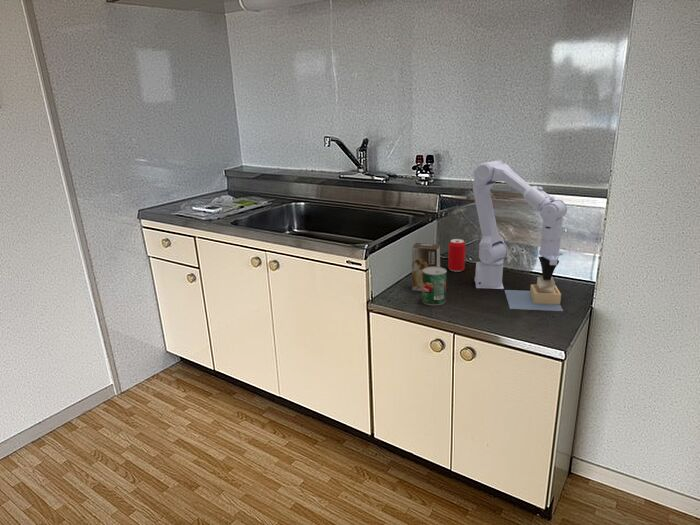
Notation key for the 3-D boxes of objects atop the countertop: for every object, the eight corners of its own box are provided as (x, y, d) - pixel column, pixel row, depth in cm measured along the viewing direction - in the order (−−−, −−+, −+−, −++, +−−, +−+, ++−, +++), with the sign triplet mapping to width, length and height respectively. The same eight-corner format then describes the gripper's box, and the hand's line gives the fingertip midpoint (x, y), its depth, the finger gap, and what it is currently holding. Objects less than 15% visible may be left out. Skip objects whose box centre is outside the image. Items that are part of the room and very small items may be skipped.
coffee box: (440, 286, 176) (441, 244, 171) (436, 293, 171) (437, 249, 165) (415, 284, 180) (416, 242, 174) (411, 290, 174) (411, 247, 169)
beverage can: (463, 267, 195) (464, 238, 191) (465, 272, 189) (466, 242, 185) (447, 267, 196) (448, 238, 192) (448, 272, 190) (449, 243, 186)
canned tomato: (417, 301, 164) (417, 270, 161) (431, 294, 170) (431, 264, 166) (436, 307, 159) (437, 276, 155) (450, 300, 164) (451, 269, 161)
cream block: (538, 294, 159) (540, 281, 157) (536, 289, 163) (537, 276, 161) (553, 295, 158) (554, 282, 156) (550, 289, 162) (552, 277, 161)
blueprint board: (509, 310, 155) (510, 298, 154) (504, 291, 170) (505, 280, 169) (563, 312, 152) (564, 300, 151) (552, 293, 167) (554, 282, 166)
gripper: (569, 245, 147) (564, 287, 151) (559, 233, 161) (555, 271, 165) (544, 245, 148) (540, 286, 153) (536, 232, 162) (533, 271, 166)
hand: (546, 279), depth 159 cm, fingers closed
